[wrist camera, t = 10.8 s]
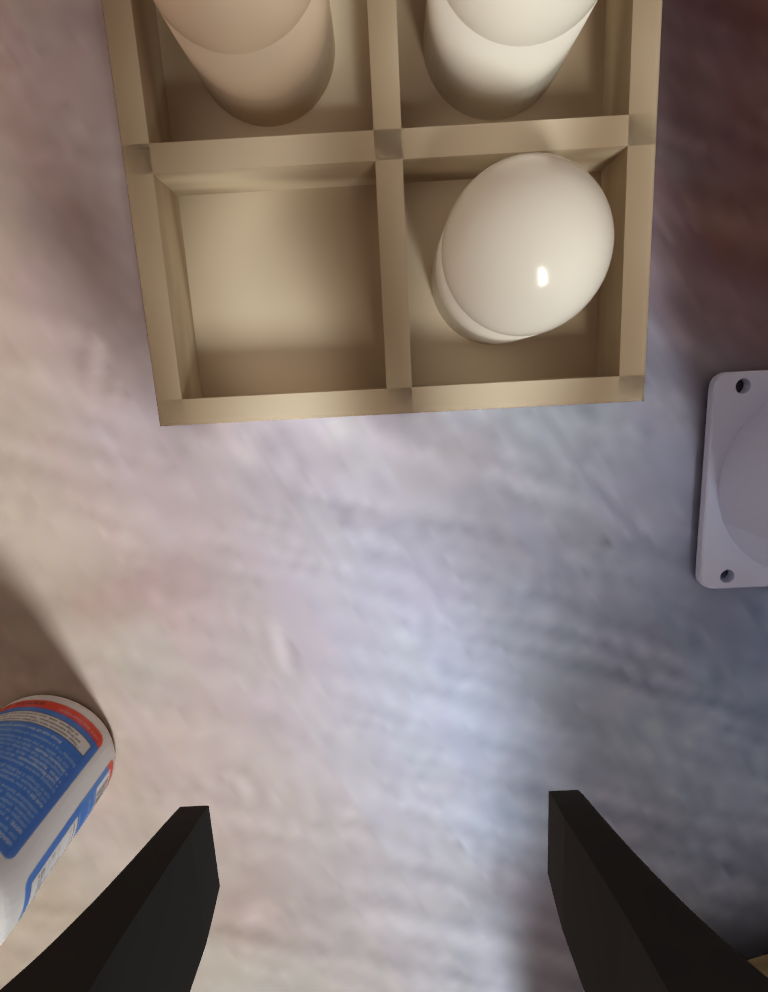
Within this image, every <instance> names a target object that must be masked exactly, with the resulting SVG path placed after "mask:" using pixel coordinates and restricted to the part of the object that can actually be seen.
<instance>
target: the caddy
mask: <svg viewBox="0 0 768 992" xmlns="http://www.w3.org/2000/svg"><path fill="white" fill-rule="evenodd" d="M329 1H330V8H331V15H332V22H333V29H334V37H335V61H334V68H333V72H332V76H331V78H330V81H329V84H328V86H327V88H326V90H325V92H324V94H323V95H322V97H321V98H320V100H319V101H318V102H317V103H316V104H315V106H314V107H313V108H312V109H311V110H310V111H308V112H307V113H306V114H305V115H303V116H302V117H300V118H298V119H297V120H295V121H292V122H290V123H288V124H284V125H280V126H273V127H262V126H256V125H251V124H248V123H245V122H243V121H241V120H239V119H236V118H235V117H233V116H232V115H230V114H229V113H227V112H226V111H225V110H224V109H223V108H221V107H220V106H219V105H218V103H217V102H216V101H215V100H214V99H213V98H212V96H211V95H210V93H209V92H208V91H207V89H206V87H205V86H204V84H203V82H202V81H201V79H200V77H199V76H198V74H197V73H196V71H195V69H194V68H193V66H192V64H191V63H190V61H189V59H188V58H187V56H186V54H185V53H184V51H183V50H182V48H181V46H180V45H179V43H178V41H177V40H176V38H175V36H174V35H173V33H172V32H171V30H170V28H169V27H168V25H167V23H166V22H165V20H164V18H163V17H162V15H161V13H160V12H159V10H158V9H157V7H156V5H155V3H154V1H153V0H102V6H103V13H104V21H105V28H106V35H107V42H108V50H109V57H110V64H111V72H112V79H113V86H114V93H115V101H116V108H117V115H118V123H119V130H120V137H121V144H122V152H123V159H124V166H125V174H126V181H127V188H128V195H129V203H130V210H131V217H132V225H133V232H134V239H135V246H136V254H137V261H138V268H139V276H140V283H141V290H142V297H143V305H144V312H145V319H146V327H147V334H148V341H149V348H150V356H151V363H152V370H153V378H154V385H155V392H156V399H157V407H158V414H159V421H160V426H171V425H190V424H209V423H228V422H247V421H266V420H285V419H304V418H323V417H342V416H361V415H380V414H399V413H418V412H437V411H457V410H476V409H495V408H514V407H533V406H552V405H571V404H590V403H609V402H628V401H644V385H645V363H646V342H647V320H648V299H649V277H650V256H651V234H652V213H653V191H654V170H655V148H656V126H657V105H658V83H659V62H660V40H661V19H662V0H597V2H596V4H595V6H594V8H593V9H592V11H591V13H590V15H589V17H588V19H587V20H586V22H585V24H584V26H583V28H582V29H581V31H580V33H579V35H578V37H577V38H576V40H575V42H574V44H573V46H572V47H571V49H570V51H569V53H568V55H567V56H566V58H565V60H564V62H563V64H562V66H561V67H560V69H559V71H558V73H557V75H556V76H555V78H554V80H553V82H552V83H551V85H550V86H549V88H548V89H547V91H546V92H545V93H544V94H543V95H542V97H541V98H540V99H539V100H538V101H536V102H535V103H534V104H533V105H532V106H530V107H529V108H528V109H526V110H525V111H523V112H521V113H519V114H517V115H514V116H512V117H509V118H505V119H500V120H481V119H477V118H472V117H470V116H467V115H465V114H463V113H461V112H459V111H458V110H456V109H455V108H453V107H452V106H451V105H449V104H448V103H447V102H446V101H445V100H444V99H443V98H442V96H441V95H440V94H439V92H438V91H437V90H436V88H435V86H434V84H433V83H432V81H431V79H430V76H429V74H428V71H427V68H426V64H425V59H424V53H423V32H424V21H425V11H426V1H427V0H329ZM524 153H550V154H554V155H558V156H561V157H564V158H566V159H569V160H571V161H573V162H574V163H576V164H578V165H580V166H581V167H582V168H583V169H585V170H586V171H587V172H588V173H589V174H590V175H591V176H592V177H593V178H594V179H595V180H596V182H597V183H598V184H599V186H600V187H601V189H602V190H603V192H604V194H605V196H606V198H607V200H608V203H609V206H610V209H611V213H612V217H613V224H614V246H613V253H612V258H611V261H610V265H609V268H608V271H607V273H606V276H605V278H604V280H603V282H602V284H601V286H600V288H599V289H598V291H597V292H596V294H595V295H594V296H593V298H592V299H591V300H590V302H589V303H588V304H587V305H586V306H585V307H584V308H583V309H582V310H581V311H580V312H579V313H578V314H577V315H575V316H574V317H573V318H572V319H570V320H568V321H567V322H565V323H564V324H562V325H560V326H558V327H556V328H554V329H552V330H550V331H547V332H544V333H541V334H538V335H534V336H531V337H527V338H524V339H521V340H517V341H514V342H511V343H506V344H501V345H486V344H480V343H476V342H473V341H470V340H468V339H466V338H464V337H462V336H460V335H459V334H458V333H456V332H455V331H454V330H453V329H452V328H451V327H450V326H448V324H447V323H446V322H445V321H444V319H443V318H442V316H441V315H440V313H439V311H438V309H437V307H436V305H435V302H434V299H433V295H432V290H431V267H432V262H433V258H434V255H435V252H436V249H437V246H438V244H439V241H440V238H441V235H442V233H443V230H444V227H445V224H446V222H447V219H448V216H449V214H450V212H451V210H452V208H453V206H454V204H455V202H456V201H457V199H458V198H459V196H460V194H461V193H462V191H463V190H464V189H465V188H466V187H467V185H468V184H469V183H470V182H471V181H472V180H473V179H474V178H475V177H476V176H478V175H479V174H480V173H481V172H483V171H484V170H486V169H487V168H488V167H490V166H491V165H493V164H495V163H497V162H499V161H501V160H503V159H506V158H508V157H511V156H515V155H519V154H524Z"/></svg>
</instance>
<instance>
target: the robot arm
mask: <svg viewBox="0 0 768 992" xmlns="http://www.w3.org/2000/svg"><path fill="white" fill-rule="evenodd" d="M740 379H741V380H742V381H743V384H744V386H743V389H742V390H741V391H740V392H739V393H738V392H737V391H736V387H735V386H736V383H737V382H738V381H739V380H740ZM724 570H728V574H727V576H726V577H725V578H723V579H720V576H721V573H722V572H723V571H724ZM695 575H696V580H697V581H698V583H700V584H701V585H703V586H704V587H706V588H709V589H723V588H744V587H765V586H768V370H757V371H738V372H723V373H719V374H717V375H716V376H714V377H713V378H712V380H711V381H710V384H709V388H708V402H707V416H706V430H705V445H704V459H703V473H702V487H701V501H700V515H699V530H698V544H697V558H696V572H695ZM548 875H549V879H550V883H551V887H552V891H553V895H554V899H555V903H556V907H557V911H558V915H559V918H560V922H561V926H562V930H563V932H564V935H565V938H566V941H567V944H568V946H569V949H570V952H571V955H572V958H573V960H574V963H575V966H576V969H577V971H578V974H579V977H580V980H581V982H582V985H583V988H584V991H585V992H768V977H767V976H765V975H764V974H763V973H762V972H760V971H759V970H758V969H757V968H755V967H754V966H753V965H752V964H751V963H750V962H748V961H747V960H746V959H745V958H744V957H742V956H741V955H740V954H739V953H738V952H737V951H735V950H734V949H733V948H732V947H731V946H730V945H728V944H727V943H726V942H725V941H724V940H723V939H722V938H720V937H719V936H718V935H717V934H716V933H715V932H714V931H713V930H712V929H711V928H709V927H708V926H707V925H706V924H705V923H704V922H703V921H702V920H701V919H700V918H699V917H698V916H697V915H696V914H694V913H693V912H692V911H691V910H690V909H689V908H688V907H687V906H686V905H685V904H684V903H683V902H682V901H681V900H680V899H679V898H678V897H677V896H676V895H675V894H674V893H673V892H672V891H671V890H670V889H669V888H668V887H667V886H666V885H665V884H664V883H663V882H662V881H661V880H660V879H659V878H658V877H657V876H656V875H655V874H654V873H653V872H652V871H651V870H650V869H649V868H648V867H647V866H646V865H645V863H644V862H643V861H642V860H641V859H640V858H639V857H638V856H637V855H636V854H635V853H634V852H633V851H632V850H631V849H630V848H629V846H628V845H627V844H626V843H625V842H624V841H623V840H622V839H621V838H620V837H619V835H618V834H617V833H616V832H615V831H614V830H613V829H612V828H611V826H610V825H609V824H608V823H607V822H606V821H605V820H604V818H603V817H602V816H601V815H600V814H599V813H598V812H597V810H596V809H595V808H594V807H593V806H592V805H591V803H590V802H589V801H588V800H587V799H586V798H585V796H584V795H583V794H582V793H581V792H580V791H579V790H567V791H549V818H548ZM219 887H220V884H219V877H218V870H217V863H216V856H215V848H214V841H213V834H212V827H211V820H210V812H209V806H189V807H180V808H179V809H178V810H177V811H176V812H175V813H174V814H173V815H172V816H171V817H170V818H169V819H168V821H167V822H166V823H165V824H164V825H163V826H162V827H161V828H160V829H159V831H158V832H157V833H156V834H155V835H154V836H153V837H152V838H151V840H150V841H149V842H148V843H147V844H146V845H145V846H144V847H143V849H142V850H141V851H140V852H139V853H138V854H137V855H136V856H135V857H134V859H133V860H132V861H131V862H130V863H129V864H128V865H127V866H126V867H125V868H124V870H123V871H122V872H121V873H120V874H119V875H118V876H117V877H116V878H115V879H114V880H113V881H112V882H111V884H110V885H109V886H108V887H107V888H106V889H105V890H104V891H103V892H102V893H101V894H100V895H99V896H98V897H97V898H96V900H95V901H94V902H93V903H92V904H91V905H90V906H89V907H88V908H87V909H86V910H85V911H84V912H83V913H82V914H81V915H80V916H79V917H78V918H77V919H76V920H75V921H74V922H73V923H72V924H71V925H70V926H69V927H68V928H67V929H66V930H65V931H64V932H63V933H62V934H61V935H60V936H59V937H58V938H57V939H56V940H55V941H54V942H53V943H52V944H51V945H50V946H48V947H47V948H46V949H45V950H44V951H43V952H42V953H41V954H40V955H39V956H38V957H37V958H36V959H35V960H33V961H32V962H31V963H30V964H29V965H28V966H27V967H26V968H25V969H23V970H22V971H21V972H20V973H19V974H18V975H17V976H16V977H14V978H13V979H12V980H11V981H10V982H9V983H8V984H6V985H5V986H4V987H3V988H2V989H1V990H0V992H190V990H191V987H192V984H193V981H194V978H195V975H196V972H197V969H198V966H199V963H200V961H201V958H202V955H203V952H204V949H205V946H206V942H207V938H208V934H209V930H210V926H211V922H212V918H213V913H214V909H215V905H216V900H217V896H218V891H219Z"/></svg>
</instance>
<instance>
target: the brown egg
mask: <svg viewBox="0 0 768 992" xmlns="http://www.w3.org/2000/svg"><path fill="white" fill-rule="evenodd" d="M153 1H154V3H155V5H156V7H157V9H158V10H159V12H160V13H161V15H162V17H163V18H164V20H165V22H166V23H167V25H168V27H169V28H170V30H171V32H172V33H173V35H174V36H175V38H176V40H177V41H178V43H179V45H180V46H181V48H182V50H183V51H184V53H185V54H186V56H187V58H188V59H189V61H190V63H191V64H192V66H193V68H194V69H195V71H196V73H197V74H198V76H199V77H200V79H201V81H202V82H203V84H204V86H205V87H206V89H207V91H208V92H209V93H210V95H211V96H212V98H213V99H214V100H215V101H216V102H217V103H218V105H219V106H220V107H221V108H223V109H224V110H225V111H226V112H227V113H229V114H230V115H232V116H233V117H235V118H236V119H239V120H241V121H243V122H245V123H248V124H251V125H256V126H262V127H273V126H280V125H284V124H288V123H290V122H292V121H295V120H297V119H298V118H300V117H302V116H303V115H305V114H306V113H307V112H308V111H310V110H311V109H312V108H313V107H314V106H315V104H316V103H317V102H318V101H319V100H320V98H321V97H322V95H323V94H324V92H325V90H326V88H327V86H328V84H329V81H330V78H331V76H332V72H333V68H334V61H335V37H334V29H333V22H332V15H331V8H330V1H329V0H153Z"/></svg>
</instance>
